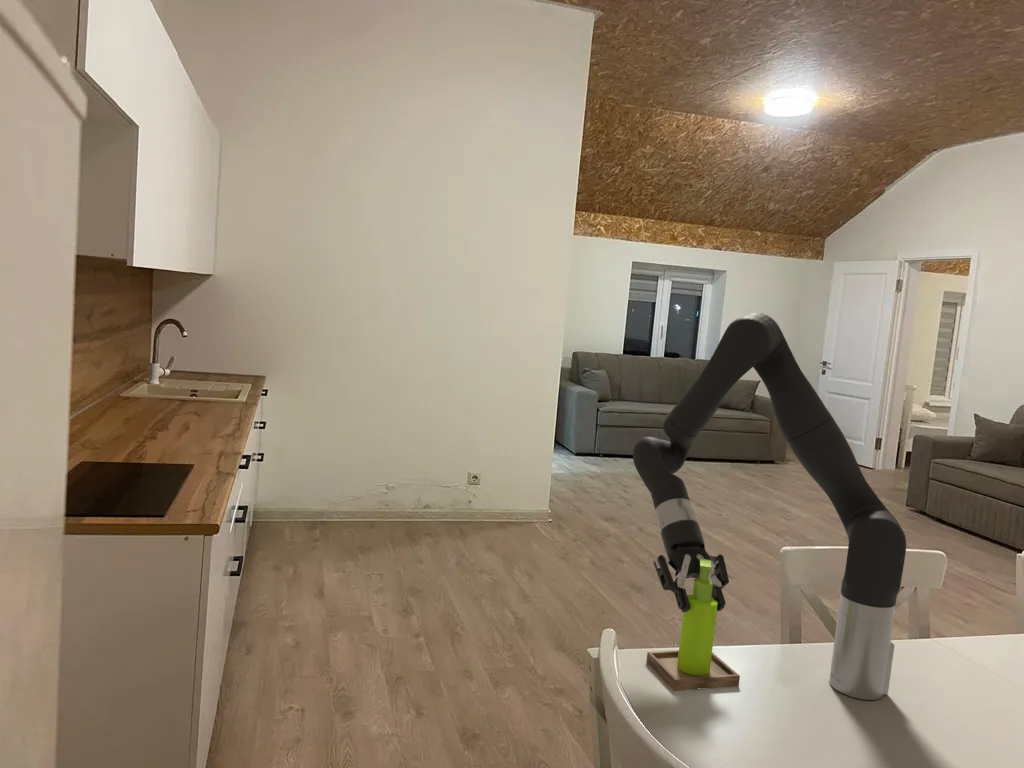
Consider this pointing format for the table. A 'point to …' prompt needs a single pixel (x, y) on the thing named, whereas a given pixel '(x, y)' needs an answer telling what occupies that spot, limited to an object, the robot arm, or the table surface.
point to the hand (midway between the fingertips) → (703, 609)
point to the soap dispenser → (698, 626)
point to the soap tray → (680, 680)
